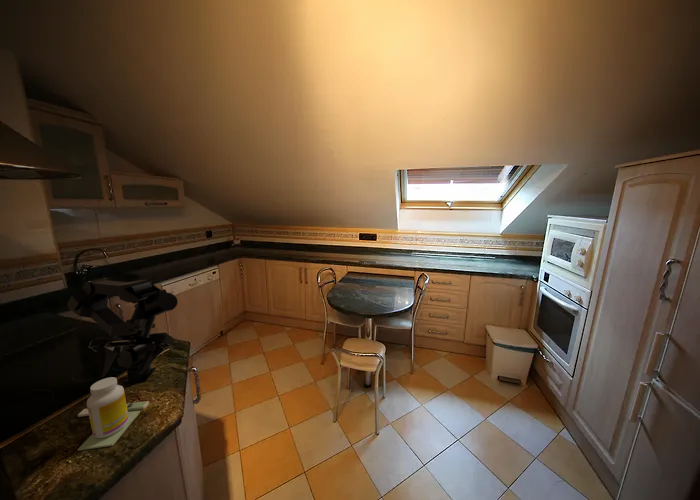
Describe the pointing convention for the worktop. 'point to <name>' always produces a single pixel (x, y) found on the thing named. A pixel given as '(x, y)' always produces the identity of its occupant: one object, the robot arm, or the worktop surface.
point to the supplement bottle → (107, 408)
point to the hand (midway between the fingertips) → (121, 374)
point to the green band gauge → (111, 439)
